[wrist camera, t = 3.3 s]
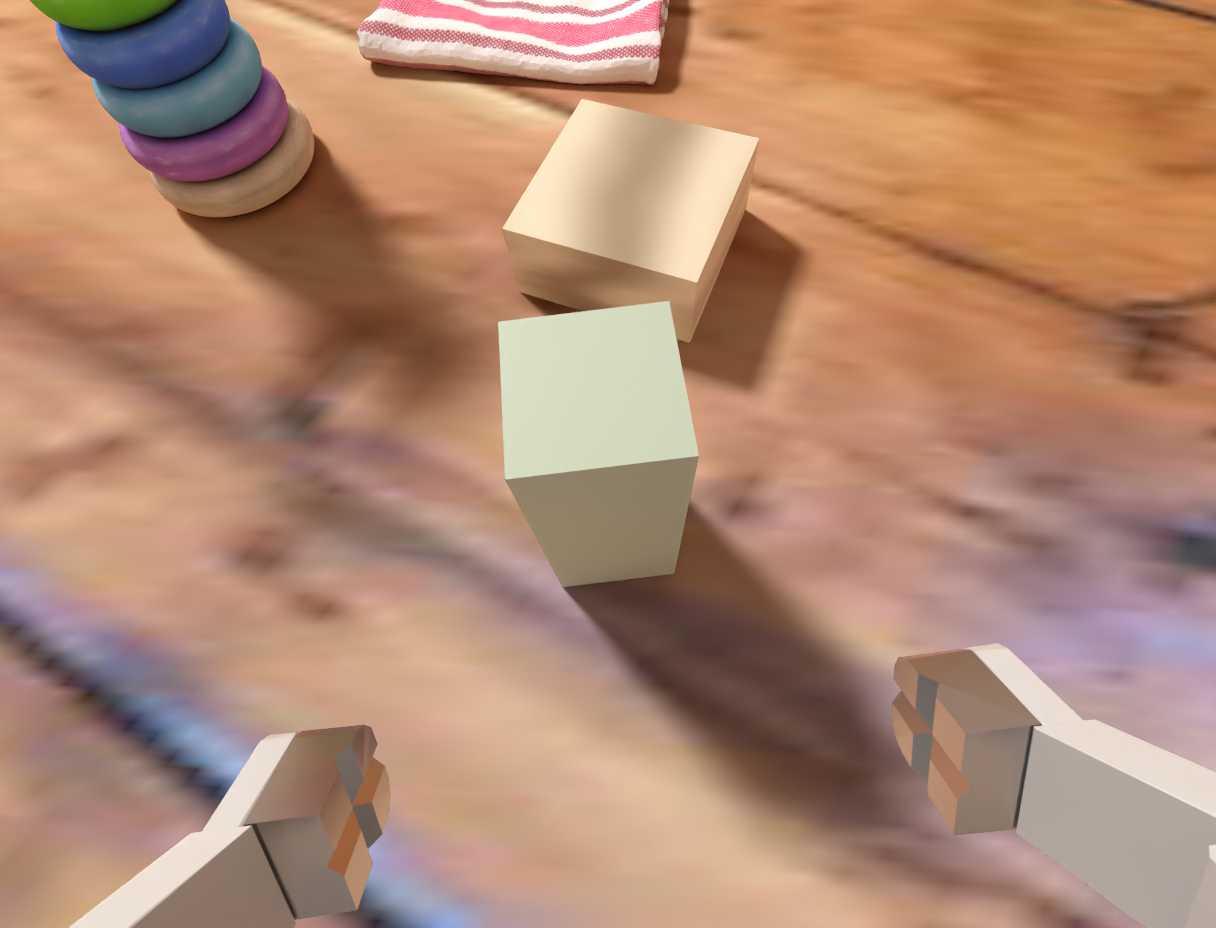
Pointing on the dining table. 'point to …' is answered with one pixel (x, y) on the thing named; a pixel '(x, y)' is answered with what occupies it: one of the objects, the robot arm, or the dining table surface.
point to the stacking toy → (189, 99)
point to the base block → (631, 213)
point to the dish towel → (521, 38)
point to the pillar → (599, 439)
